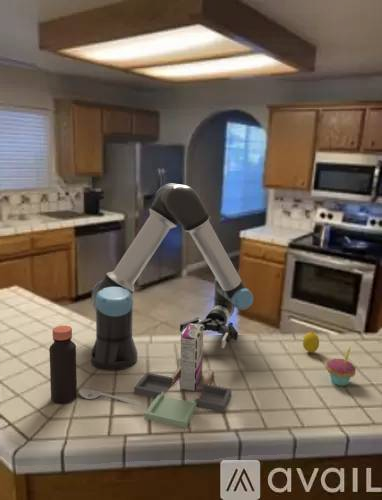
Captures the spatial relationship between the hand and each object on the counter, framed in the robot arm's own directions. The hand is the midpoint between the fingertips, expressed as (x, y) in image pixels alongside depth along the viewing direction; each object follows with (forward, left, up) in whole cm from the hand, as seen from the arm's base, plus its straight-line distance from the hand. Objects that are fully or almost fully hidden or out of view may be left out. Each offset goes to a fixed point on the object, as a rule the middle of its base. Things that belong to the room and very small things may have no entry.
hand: (202, 340), depth 127 cm
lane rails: (0, -9, -9) cm, 12 cm away
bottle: (-30, -31, -9) cm, 44 cm away
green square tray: (0, -26, -9) cm, 28 cm away
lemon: (+34, +24, -9) cm, 43 cm away
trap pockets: (0, -18, -9) cm, 20 cm away
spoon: (-17, -27, -10) cm, 33 cm away
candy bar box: (0, -10, -9) cm, 13 cm away
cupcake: (+43, +6, -9) cm, 44 cm away
